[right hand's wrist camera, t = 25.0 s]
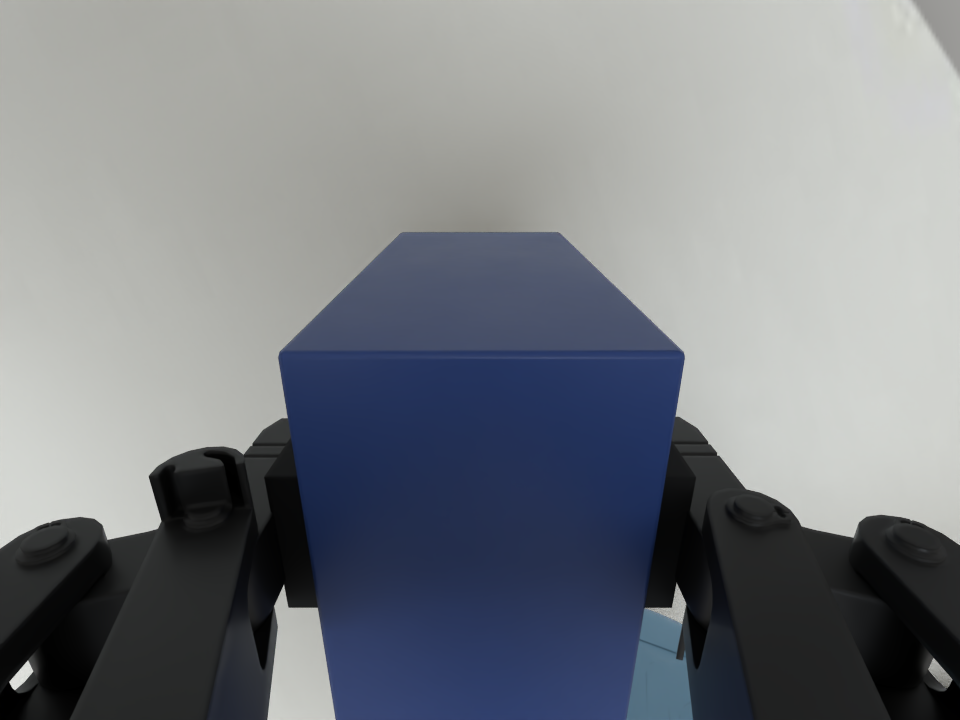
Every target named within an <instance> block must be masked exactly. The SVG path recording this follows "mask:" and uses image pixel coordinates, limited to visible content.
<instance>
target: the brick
mask: <svg viewBox="0 0 960 720" xmlns="http://www.w3.org/2000/svg"><path fill="white" fill-rule="evenodd" d="M278 359H279V365H280V371H281V378H282V384H283V390H284V396H285V403H286V409H287V415H288V422H289V428H290V434H291V440H292V447H293V453H294V459H295V466H296V472H297V478H298V485H299V491H300V497H301V503H302V510H303V516H304V522H305V529H306V535H307V541H308V548H309V554H310V560H311V566H312V573H313V579H314V585H315V592H316V598H317V604H318V610H319V617H320V623H321V629H322V636H323V642H324V648H325V655H326V661H327V667H328V673H329V680H330V686H331V692H332V699H333V705H334V711H335V718H336V720H626V719H627V713H628V707H629V701H630V694H631V688H632V682H633V676H634V670H635V663H636V657H637V651H638V645H639V639H640V632H641V626H642V620H643V614H644V608H645V601H646V595H647V589H648V583H649V577H650V570H651V564H652V558H653V552H654V546H655V539H656V533H657V527H658V521H659V515H660V508H661V502H662V496H663V490H664V484H665V477H666V471H667V465H668V459H669V453H670V446H671V440H672V434H673V428H674V422H675V415H676V409H677V403H678V397H679V391H680V384H681V378H682V372H683V366H684V360H685V356H684V352H683V351H682V350H681V349H680V348H679V347H678V346H677V345H676V344H675V343H674V342H673V341H672V340H671V339H669V338H668V337H667V336H666V335H665V334H664V333H663V332H662V331H661V330H660V329H659V328H658V327H657V326H656V325H655V324H654V323H653V322H652V321H651V320H650V319H649V318H648V317H647V316H646V315H644V314H643V313H642V312H641V311H640V310H639V309H638V308H637V307H636V306H635V305H634V304H633V303H632V302H631V301H630V300H629V299H628V298H627V297H626V296H625V295H624V294H623V293H622V292H621V291H620V290H618V289H617V288H616V287H615V286H614V285H613V284H612V283H611V282H610V281H609V280H608V279H607V278H606V277H605V276H604V275H603V274H602V273H601V272H600V271H599V270H598V269H597V268H596V267H595V266H594V265H592V264H591V263H590V262H589V261H588V260H587V259H586V258H585V257H584V256H583V255H582V254H581V253H580V252H579V251H578V250H577V249H576V248H575V247H574V246H573V245H572V244H571V243H570V242H569V241H568V240H566V239H565V238H564V237H563V236H562V235H561V234H560V233H558V232H403V233H400V234H399V235H398V236H397V237H396V238H395V239H394V240H393V241H392V242H391V243H390V244H389V245H388V246H387V247H386V248H385V249H384V250H383V251H382V252H381V253H380V254H379V255H378V256H377V257H376V258H375V259H374V260H373V261H372V262H371V263H370V264H369V265H368V266H367V267H366V268H365V269H364V270H363V271H362V272H361V273H360V274H359V275H358V276H357V277H356V278H355V279H354V280H353V281H352V282H351V283H350V284H349V285H348V286H346V287H345V288H344V289H343V290H342V291H341V292H340V293H339V294H338V295H337V296H336V297H335V298H334V299H333V300H332V301H331V302H330V303H329V304H328V305H327V306H326V307H325V308H324V309H323V310H322V311H321V312H320V313H319V314H318V315H317V316H316V317H315V318H314V319H313V320H312V321H311V322H310V323H309V324H308V325H307V326H306V327H305V328H304V329H303V330H302V331H301V332H300V333H299V334H298V335H297V336H296V337H295V338H294V339H293V340H292V341H290V342H289V343H288V344H287V345H286V346H285V347H284V348H283V349H282V350H281V351H280V353H279V356H278Z"/></svg>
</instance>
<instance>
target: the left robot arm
mask: <svg viewBox="0 0 960 720" xmlns="http://www.w3.org/2000/svg"><path fill="white" fill-rule="evenodd" d="M681 628H682V624H681V623H679V622H677V621H675V620H673V619H670V618H668V617H666V616H664V615H661V614H659V613H656V612H654V611H651V610H648V609H645V608H644V614H643V620H642V626H641V632H640V639H639V645H638V651H637V657H636V663H635V670H634V676H633V682H632V688H631V694H630V701H629V707H628V713H627V719H626V720H693V715H692V707H691V698H690V689H689V680H688V671H687V663H686V654H685V652H684V657H683V661H682V660H678V659H676V655H677V648H678V643H679V638H680V633H681Z"/></svg>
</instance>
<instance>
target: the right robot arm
mask: <svg viewBox="0 0 960 720" xmlns="http://www.w3.org/2000/svg"><path fill="white" fill-rule="evenodd" d="M149 479H150V483H151V486H152V490H153V493H154V496H155V500H156V503H157V507H158V510H159V514H160V517H161V524H160V526H159V528H158V529H157V530H153V531H149V532H144V533H140V534H135V535H130V536H125V537H120V538H115V539H110V540H107V537H106V534H105V532H104V529H103V526H102V524H100V523H99V522H98V521H96V520H95V519H91V518H83V517H77V518H69V519H61V520H57V521H52V522H51V523H46V524H43V525H40V526H38V527H36V528H35V529H33V530H30V531H28V532H26V533H24V534H22V535H20V536H18V537H17V538H15V539H14V540H12V541H11V542H9V543H8V544H7V545H5V546H4V547H2V548H1V549H0V720H267V717H268V708H269V699H270V690H271V682H272V673H273V664H274V655H275V646H276V637H277V629H278V626H277V619H276V613H275V608H274V605H275V603H276V600H277V598H278V596H279V594H280V592H281V589H282V587H283V585H284V586H285V591H286V597H287V602H288V607H289V608H318V604H317V598H316V592H315V585H314V579H313V573H312V566H311V560H310V554H309V548H308V541H307V535H306V529H305V522H304V516H303V510H302V503H301V497H300V491H299V485H298V478H297V472H296V466H295V459H294V453H293V447H292V440H291V434H290V428H289V422H288V418H282V419H280V420H278V421H277V422H275V423H274V424H272V425H270V426H269V427H267V428H266V429H264V430H263V431H262V432H261V433H260V435H259V436H258V437H257V439H256V440H255V441H254V442H253V446H250V447H249V449H248V450H247V451H246V453H245V454H244V455H243V454H242V453H240V452H239V451H238V450H236V449H232V448H228V447H206V448H201V449H196V450H191V451H188V452H185V453H183V454H180V455H177V456H175V457H172V458H170V459H169V460H167V461H166V462H164V463H162V464H161V465H159V466H158V467H157V468H156V469H155V470H154V471H153V472H152V473H151V474H150V475H149ZM676 582H677V584H678V586H679V588H680V591H681V593H682V595H683V597H684V599H685V601H686V608H685V613H684V618H683V623H682V628H681V633H680V638H679V643H678V648H677V655H676V659H678V660H682V661H683V657H684V652H685V654H686V663H687V671H688V680H689V689H690V698H691V707H692V715H693V720H960V545H958V544H957V543H955V542H954V541H953V540H951V539H950V538H948V537H947V536H945V535H944V534H942V533H940V532H938V531H936V530H934V529H932V528H929V527H927V526H926V525H924V524H922V523H919V522H916V521H913V520H912V521H911V520H910V519H906V518H901V517H894V516H886V515H876V516H869V517H866V518H865V519H863V520H862V521H861V522H859V524H858V527H857V530H856V533H855V536H854V538H851V537H846V536H842V535H837V534H832V533H827V532H822V531H817V530H812V529H809V528H805V527H801V525H800V523H799V521H798V519H797V518H796V517H795V515H794V514H793V513H792V511H791V510H790V509H788V508H787V507H786V506H784V505H783V504H781V503H780V502H779V501H777V500H775V499H773V498H771V497H768V496H766V495H764V494H762V493H759V492H755V491H751V490H746V489H745V488H744V486H743V485H742V484H741V483H740V481H739V480H738V479H737V478H736V476H735V475H734V474H733V473H732V471H731V470H730V469H729V467H728V466H727V465H726V464H725V462H724V461H723V460H722V459H721V457H720V456H717V452H716V451H715V450H714V449H713V447H712V446H711V445H710V444H708V441H707V440H706V439H705V437H704V436H703V435H702V434H701V432H700V431H699V430H698V429H697V428H696V427H694V426H693V425H691V424H690V423H688V422H686V421H685V420H683V419H682V418H680V417H675V422H674V428H673V434H672V440H671V446H670V453H669V459H668V465H667V471H666V477H665V484H664V490H663V496H662V502H661V508H660V515H659V521H658V527H657V533H656V539H655V546H654V552H653V558H652V564H651V570H650V577H649V583H648V589H647V595H646V601H645V608H672V604H673V598H674V593H675V588H676ZM933 657H934V659H935V660H936V661H937V662H938V663H939V664H940V665H941V667H942V668H943V669H944V670H945V671H946V672H947V673H948V675H949V676H950V677H951V678H952V679H953V680H952V682H951V684H950V686H949V687H948V688H947V689H946V688H944V687H943V686H942V685H941V684H940V683H939V682H938V681H937V680H936V679H935V678H934V676H933V675H932V674H931V673H930V672H929V670H928V668H929V666H930V664H931V662H932V660H933ZM27 661H29V663H30V665H31V667H32V669H33V671H34V672H33V673H32V674H31V675H30V676H29V678H28V679H27V680H26V681H25V682H24V683H23V684H22V685H21V686H20V687H18V688H17V689H16V690H14V689H12V687H11V685H10V683H9V681H10V680H11V679H12V678H13V677H14V676H15V674H16V673H17V672H18V671H19V670H20V669H21V667H22V666H23V665H24V664H25V663H26V662H27Z"/></svg>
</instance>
